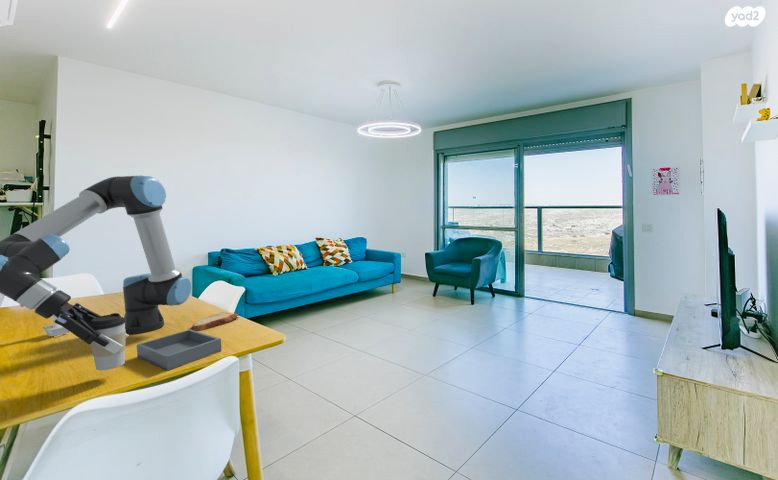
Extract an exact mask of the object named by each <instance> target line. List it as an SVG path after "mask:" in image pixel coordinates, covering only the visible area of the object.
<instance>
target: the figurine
mask: <svg viewBox="0 0 778 480" xmlns="http://www.w3.org/2000/svg"><path fill="white" fill-rule="evenodd" d="M51 318H52V325H48V326H44V327H41V329H42V330H43V331H44V332H45V333H46V335H47V336H48V335H50V336H58V335H62V334H66V333H68V334H69V333H70V331H68V330H67V329H65V328H64V327H63V326H61V325H59V324H57V323H55V322H54V321H55V320H56V319H57V317H56V316H55V315H53V316H51ZM66 335H67V334H66ZM50 336H49V337H50ZM62 336H63V335H62ZM58 337H59V336H58Z"/></svg>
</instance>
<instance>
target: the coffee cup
mask: <svg viewBox="0 0 778 480" xmlns="http://www.w3.org/2000/svg"><path fill="white" fill-rule="evenodd" d="M125 322H126V321H125V318H124V316H123V317H122V316H121V314H120V313H119V312H118V313H117V312H114V313H110V314H106V315H100V316H99V317H96V318H93V319H92V320H91V322H90V323H88V325H89V326H91V327H92V328H93V329H94V330H95V331H96V332H98V333H99V334H101V333H102V334H104V335H105V336H107V337H109V338H110V339H112V340H114V341H116V342H117V343H119V344H121V345H123V346H122V347H121V348H120V350H119V351H118V352H117V353H116V354H113V353H112V352H110V351H108V350H106V349H104V348H103V347H101V346H99V345H97V344H96V343H94V342H92V343H91V344H89V345H90V349H91V354H92V357H93V362H94V366H95V370H97V371H109V370H113V369H117V368H119V367H121V366H123V365H124V364H125V363H126V361H125V360H126V356H125V355H126V342H127V341H126V340H127V338H126V329H125Z"/></svg>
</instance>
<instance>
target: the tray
mask: <svg viewBox="0 0 778 480" xmlns="http://www.w3.org/2000/svg"><path fill="white" fill-rule="evenodd" d="M222 350H223V349H222V338H221V337H220V338H219V337H216V336H214V335H210V334H207V333H204V332H202V331H194V330H192V328H190V329H186V330H183V331H178V332H175V333H173V334H169V335H165V336H162V337H158V338H155V339H151V340H148V341H144V342H141V343H137V344H136V352H137V358H138V359H140V360H143V361H145V362H147V363H149V364H151V365H154V366H156V367H159V368H160V369H163V370H165V371H166V372H167V371H171V370H174V369H176V368H180V367H182V366H184V365H188V364H190V363H193V362H195V361H199V360H201V359H204V358H207V357H209V356H212V355H214V354H217V353H219V352H222Z"/></svg>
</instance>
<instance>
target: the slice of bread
mask: <svg viewBox="0 0 778 480" xmlns="http://www.w3.org/2000/svg"><path fill="white" fill-rule="evenodd" d="M237 316H240V315H239V313H229V312H224V311H223V312H219V313H215V314H211V315H209V316H206V317H204V318H202V319H200V320H198V321H195V322H194V323H193V324H192V327H191V330H194V331H197V332H202V331H206V330H210V329H212V328H213V329H214V328H216V327H218V326H219V325H220V326H222V324H223V325H226V324H228V323H231V322H233V321H235V320H237V319H238V318H239V317H237Z"/></svg>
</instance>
